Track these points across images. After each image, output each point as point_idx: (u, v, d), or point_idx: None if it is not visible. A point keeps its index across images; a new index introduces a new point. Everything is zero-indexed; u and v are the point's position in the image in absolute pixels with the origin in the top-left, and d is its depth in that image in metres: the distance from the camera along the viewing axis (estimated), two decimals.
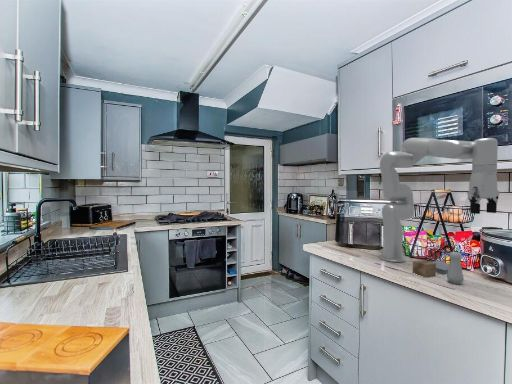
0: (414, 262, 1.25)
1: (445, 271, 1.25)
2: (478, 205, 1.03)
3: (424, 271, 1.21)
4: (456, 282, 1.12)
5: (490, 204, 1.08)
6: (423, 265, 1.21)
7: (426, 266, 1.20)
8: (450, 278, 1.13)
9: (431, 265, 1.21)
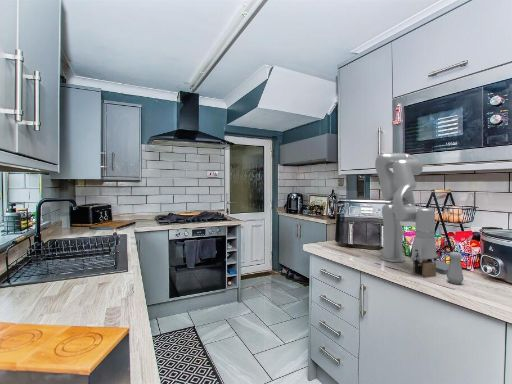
0: None
1: (445, 271, 1.25)
2: (421, 267, 1.22)
3: (424, 271, 1.21)
4: (456, 282, 1.12)
5: None
6: (423, 265, 1.21)
7: (426, 266, 1.20)
8: (450, 278, 1.13)
9: (431, 265, 1.21)
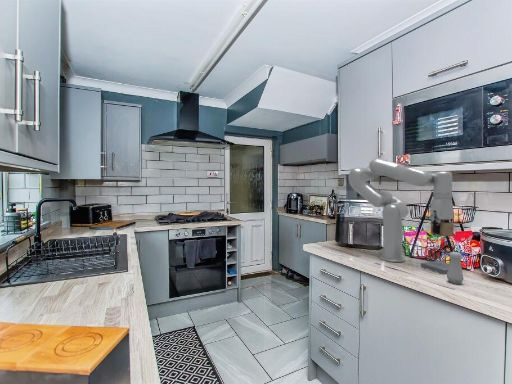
0: None
1: (445, 271, 1.25)
2: (439, 226, 1.29)
3: (442, 230, 1.28)
4: (456, 282, 1.12)
5: None
6: (441, 224, 1.28)
7: (444, 225, 1.27)
8: (450, 278, 1.13)
9: (449, 225, 1.28)
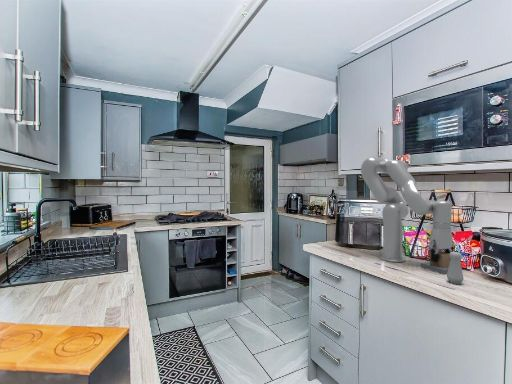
0: None
1: (445, 271, 1.25)
2: (437, 255, 1.29)
3: (441, 261, 1.28)
4: (456, 282, 1.12)
5: None
6: (440, 256, 1.29)
7: (443, 257, 1.28)
8: (450, 278, 1.13)
9: (448, 256, 1.29)
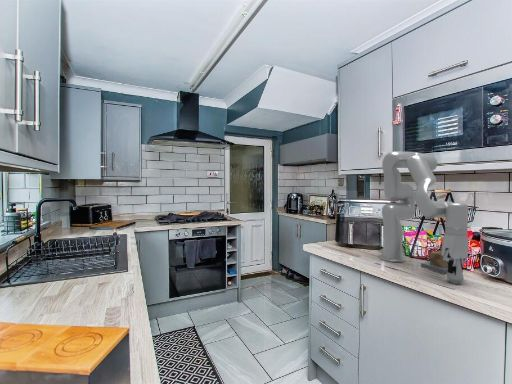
0: (431, 253, 1.33)
1: (445, 271, 1.25)
2: (455, 268, 1.12)
3: (441, 261, 1.28)
4: (456, 282, 1.12)
5: None
6: (440, 256, 1.29)
7: (443, 257, 1.28)
8: (450, 278, 1.13)
9: None
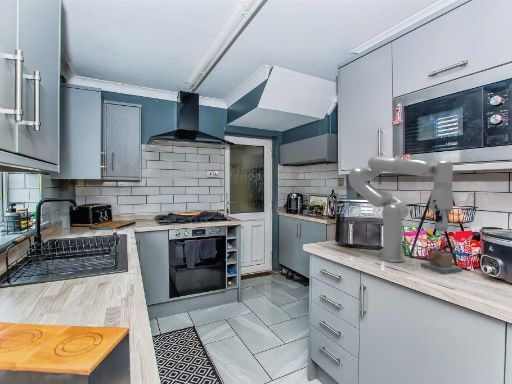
0: (431, 253, 1.33)
1: (445, 271, 1.25)
2: (441, 217, 1.29)
3: (441, 261, 1.28)
4: (442, 229, 1.29)
5: None
6: (440, 256, 1.29)
7: (443, 257, 1.28)
8: (437, 226, 1.30)
9: (448, 256, 1.29)
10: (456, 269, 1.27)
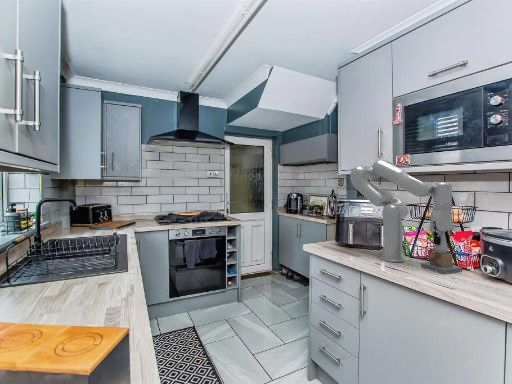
0: (431, 253, 1.33)
1: (445, 271, 1.25)
2: (439, 238, 1.29)
3: (441, 261, 1.28)
4: (441, 252, 1.30)
5: (445, 236, 1.33)
6: (440, 256, 1.29)
7: (443, 257, 1.28)
8: (436, 249, 1.31)
9: (448, 256, 1.29)
10: (456, 269, 1.27)
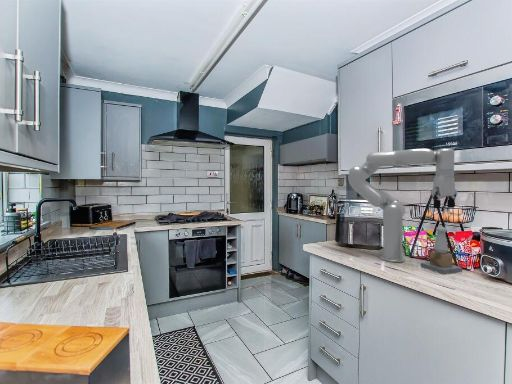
0: (431, 253, 1.33)
1: (445, 271, 1.25)
2: (439, 201, 1.31)
3: (441, 261, 1.28)
4: (441, 252, 1.30)
5: (450, 201, 1.36)
6: (440, 256, 1.29)
7: (443, 257, 1.28)
8: (436, 249, 1.31)
9: (448, 256, 1.29)
10: (456, 269, 1.27)
